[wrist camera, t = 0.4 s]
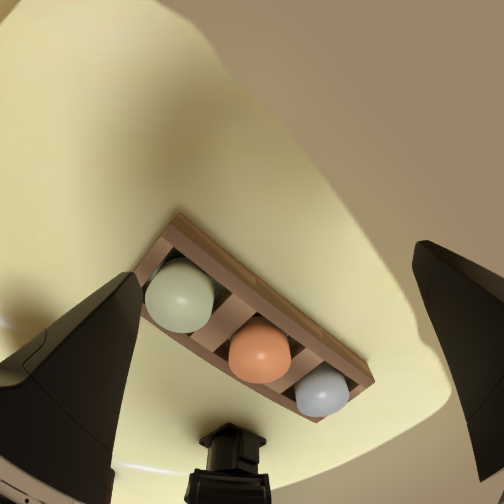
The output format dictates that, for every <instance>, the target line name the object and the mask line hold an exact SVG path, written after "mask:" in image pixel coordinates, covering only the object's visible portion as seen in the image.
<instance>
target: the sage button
mask: <svg viewBox="0 0 504 504" xmlns="http://www.w3.org/2000/svg"><path fill="white" fill-rule="evenodd" d="M215 293H216V283H215V280H214V278H213V277H211V276H210V275H209V274H208V273H206V272H205V271H204V270H202V269H201V268H200V267H199V266H197V265H196V264H195V263H194V262H192V261H191V260H190V259H189V258H175V259H172V260H170V261H168V262H166V263H165V264H164V265H163V266H162V267H161V268H160V270H159V271H158V273H157V274H156V276H155V277H154V279H153V280H152V282H151V283H150V285H149V287H148V288H147V291H146V294H145V304H146V308H147V310H148V313H149V314H150V316H151V317H152V319H153V320H154V321H155V322H156V323H157V324H159V325H160V326H161V327H163V328H165V329H167V330H169V331H172V332H176V333H190V332H194V331H196V330H199V329H200V328H202V327H203V326H204V325H205V324H206V323H207V322H208V320H209V318H210V316H211V312H212V307H213V302H214V298H215Z"/></svg>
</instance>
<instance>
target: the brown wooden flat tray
mask: <svg viewBox="0 0 504 504" xmlns="http://www.w3.org/2000/svg"><path fill="white" fill-rule="evenodd" d="M173 247H175V248H176V249H177V250H179V251H180V252H181V253H182V254H184V255H185V256H186V257H187V258H189V259H190V260H191V261H192V262H194V263H195V264H196V265H197V266H199V267H200V268H201V269H202V270H204V271H205V272H206V273H208V274H209V275H210V276H211V277H213V278H214V279H215V280H216V281H218V282H219V283H220V284H222V285H223V286H224V288H223V289H222V290H221V291H220V292H219V293H218V294H217V295H216V297H215V298H214V302H213V307H212V312H211V316H210V318H209V320H208V322H207V323H206V324H205V325H204V326H203V327H202V328H200V329H199V330H196V331H194V332H190V333H176V332H172V331H169V330H167V329H165V328H163V327H161V326H160V325H159V324H157V323H156V322H155V321H154V320H153V319H152V317H151V316H150V314H149V313H148V310H147V308H146V304H145V294H146V291H147V288H148V287H149V285H150V283H149V282H148V281H147V280H148V278H149V277H150V276H151V274H152V273H153V272H154V271H155V269H156V268H157V267H158V265H159V264H160V263H161V262H162V260H163V259H164V258H165V257H166V255H167V254H168V253H169V252H170V250H171V249H172V248H173ZM134 273H135V274H136V277H137V279H138V281H139V284H140V286H141V289H142V291H143V303H142V309H141V316H142V317H144V318H145V319H146V320H148V321H149V322H150V323H152V324H153V325H154V326H156V327H157V328H159V329H160V330H161V331H163V332H164V333H166V334H167V335H168V336H170V337H171V338H173V339H174V340H175V341H177V342H178V343H180V344H181V345H183V346H184V347H186V348H187V349H189V350H190V351H192V352H193V353H195V354H196V355H198V356H199V357H201V358H202V359H204V360H205V361H207V362H208V363H210V364H212V365H213V366H215V367H216V368H218V369H219V370H221V371H223V372H224V373H226V374H227V375H229V376H231V377H232V378H234V379H236V380H237V381H239V382H241V383H242V384H244V385H246V386H247V387H249V388H251V389H253V390H254V391H256V392H258V393H260V394H261V395H263V396H265V397H267V398H269V399H270V400H272V401H274V402H276V403H278V404H279V405H281V406H283V407H285V408H287V409H289V410H291V411H293V412H295V413H297V414H299V415H300V416H302V417H304V418H306V419H308V420H310V421H312V422H314V423H318V422H319V421H321V420H322V419H324V418H325V417H327V416H328V415H327V416H323V417H310V416H306V415H304V414H302V413H301V412H300V411H299V410H298V408H297V403H296V396H295V389H294V383H296V382H297V381H298V380H300V379H301V378H302V377H304V376H305V375H306V374H308V373H309V372H310V371H311V370H313V369H314V368H315V367H317V366H318V365H319V364H320V363H322V362H323V361H324V360H325V361H326V362H327V363H329V364H330V365H332V366H333V367H335V368H336V369H338V370H339V371H340V372H342V373H343V376H344V379H345V381H346V384H347V387H348V390H349V395H350V396H349V400H348V402H349V401H350V400H352V399H353V398H355V397H356V396H357V395H359V394H360V393H361V392H363V391H364V390H365V389H367V388H368V387H369V386H371V385H372V384H373V383H375V380H374V378H373V376H372V373H371V371H370V369H369V367H368V364H367V363H366V362H365V361H363V360H362V359H361V358H360V357H358V356H357V355H356V354H354V353H353V352H352V351H351V350H349V349H348V348H347V347H345V346H344V345H343V344H342V343H340V342H339V341H338V340H336V339H335V338H334V337H333V336H331V335H330V334H329V333H328V332H326V331H325V330H324V329H322V328H321V327H320V326H319V325H317V324H316V323H315V322H314V321H312V320H311V319H310V318H309V317H307V316H306V315H305V314H303V313H302V312H301V311H300V310H298V309H297V308H296V307H295V306H293V305H292V304H291V303H290V302H288V301H287V300H286V299H285V298H283V297H282V296H281V295H280V294H278V293H277V292H276V291H275V290H273V289H272V288H271V287H270V286H268V285H267V284H266V283H265V282H263V281H262V280H261V279H260V278H258V277H257V276H256V275H255V274H253V273H252V272H251V271H250V270H248V269H247V268H246V267H245V266H243V265H242V264H241V263H240V262H239V261H237V260H236V259H235V258H234V257H232V256H231V255H230V254H229V253H227V252H226V251H225V250H224V249H223V248H221V247H220V246H219V245H218V244H216V243H215V242H214V241H213V240H211V239H210V238H209V237H208V236H207V235H205V234H204V233H203V232H202V231H201V230H199V229H198V228H197V227H196V226H194V225H193V224H192V223H191V222H190V221H188V220H187V219H186V218H185V217H183V216H182V215H181V214H179V215H178V216H177V217H176V218H175V219H174V220H173V221H172V222H171V223H170V225H169V226H168V227H167V228H166V230H165V231H164V232H163V234H162V235H161V236H160V238H159V239H158V240H157V241H156V243H155V244H154V245H153V247H152V248H151V249H150V251H149V252H148V253H147V255H146V256H145V257H144V259H143V260H142V261H141V263H140V264H139V266H138V267H137V268H136V270H135V271H134ZM256 312H258V313H260V314H261V315H262V316H264V317H265V318H266V319H268V320H269V321H271V322H272V323H273V324H275V325H276V326H277V327H279V328H280V329H281V330H283V331H284V332H286V333H287V334H288V335H290V336H291V337H290V338H289V339H288V343H289V349H290V355H291V364H290V367H289V369H288V371H287V372H286V373H285V374H284V375H283V376H282V377H280V378H279V379H277V380H275V381H272V382H268V383H261V384H257V383H250V382H246V381H244V380H241V379H240V378H238V377H237V376H236V375H234V373H233V372H232V371H231V369H230V367H229V361H228V360H229V350H230V342H229V341H228V340H227V339H228V338H229V337H230V336H231V335H232V334H233V333H234V332H236V331H237V330H238V329H239V328H240V327H241V326H242V325H243V324H244V323H245V322H246V321H247V320H248V319H250V318H251V317H252V316H253V315H254V314H255V313H256ZM348 402H347V403H348Z"/></svg>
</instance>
